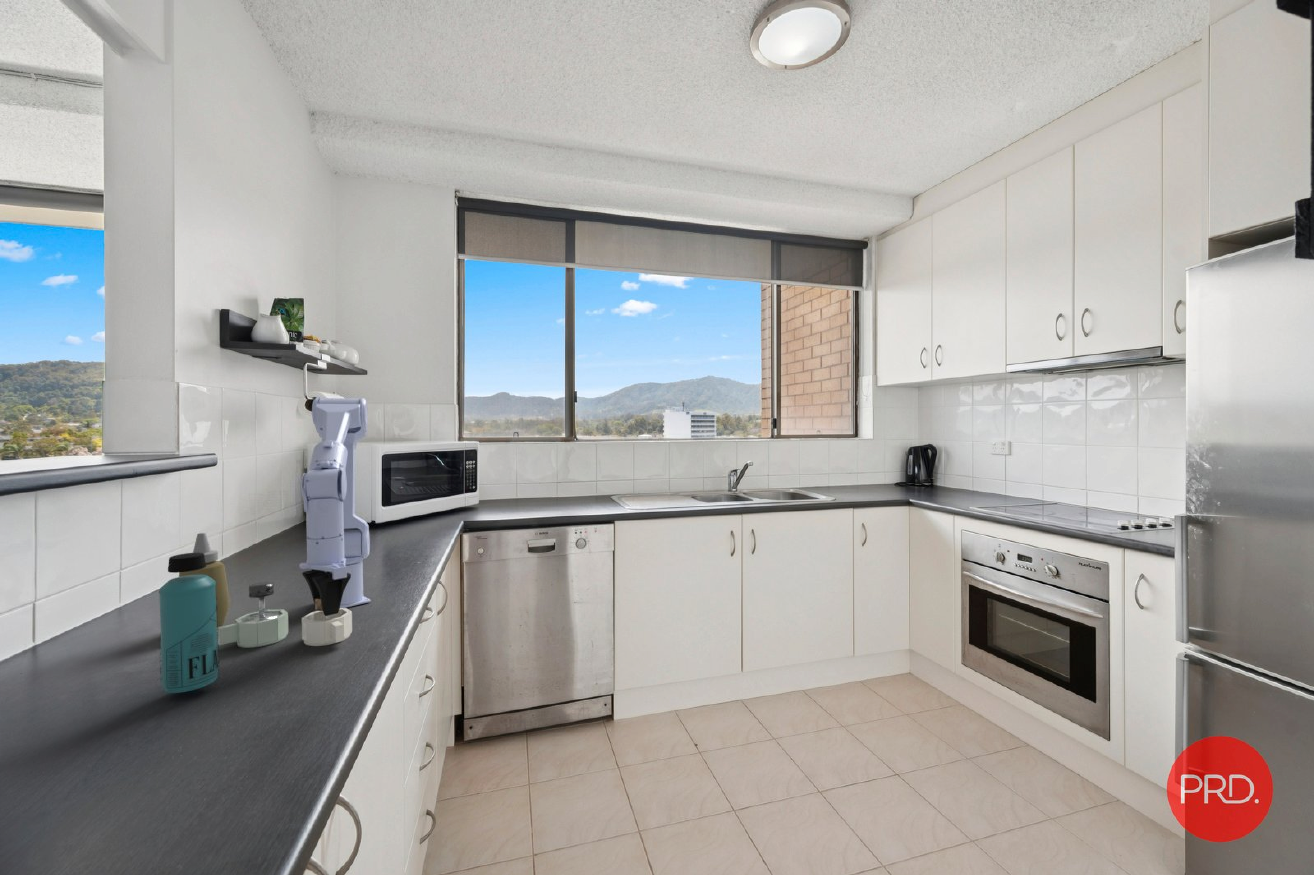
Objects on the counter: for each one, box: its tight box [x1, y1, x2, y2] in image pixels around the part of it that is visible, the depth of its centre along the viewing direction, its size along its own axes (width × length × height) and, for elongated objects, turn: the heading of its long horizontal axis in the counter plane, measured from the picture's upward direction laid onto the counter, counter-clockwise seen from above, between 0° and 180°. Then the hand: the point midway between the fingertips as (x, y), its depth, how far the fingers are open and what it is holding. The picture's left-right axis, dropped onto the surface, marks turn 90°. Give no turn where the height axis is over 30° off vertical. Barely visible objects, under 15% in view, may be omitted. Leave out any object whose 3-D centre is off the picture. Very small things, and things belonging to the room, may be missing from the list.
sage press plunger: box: [245, 581, 279, 622], centre depth 98 cm, size 5×5×6 cm
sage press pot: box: [217, 608, 289, 649], centre depth 98 cm, size 10×7×4 cm
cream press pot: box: [301, 607, 353, 647], centre depth 98 cm, size 10×7×4 cm
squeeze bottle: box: [178, 532, 231, 629], centre depth 104 cm, size 8×8×18 cm
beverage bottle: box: [158, 552, 220, 694], centre depth 79 cm, size 6×7×20 cm
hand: (327, 611), depth 99 cm, fingers open, 4 cm apart
